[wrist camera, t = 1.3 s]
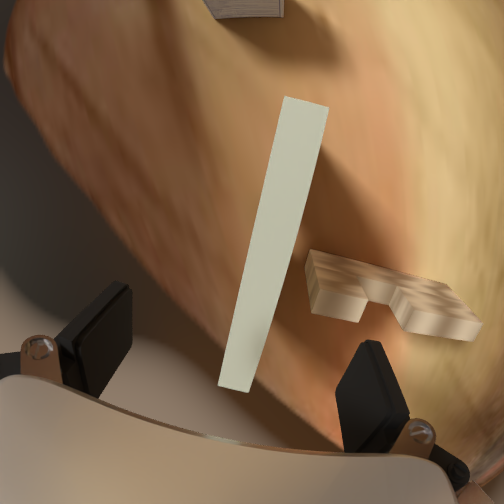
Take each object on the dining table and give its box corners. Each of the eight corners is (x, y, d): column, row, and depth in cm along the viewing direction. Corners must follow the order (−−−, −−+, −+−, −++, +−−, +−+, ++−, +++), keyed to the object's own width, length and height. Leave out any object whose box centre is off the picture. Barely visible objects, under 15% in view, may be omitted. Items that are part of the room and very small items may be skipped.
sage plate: (283, 122, 28) (284, 96, 13) (305, 128, 28) (329, 107, 13) (243, 290, 36) (217, 385, 21) (263, 295, 35) (248, 392, 21)
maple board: (446, 284, 32) (483, 323, 23) (439, 299, 33) (473, 341, 24) (310, 248, 33) (319, 289, 23) (304, 267, 34) (311, 313, 24)
